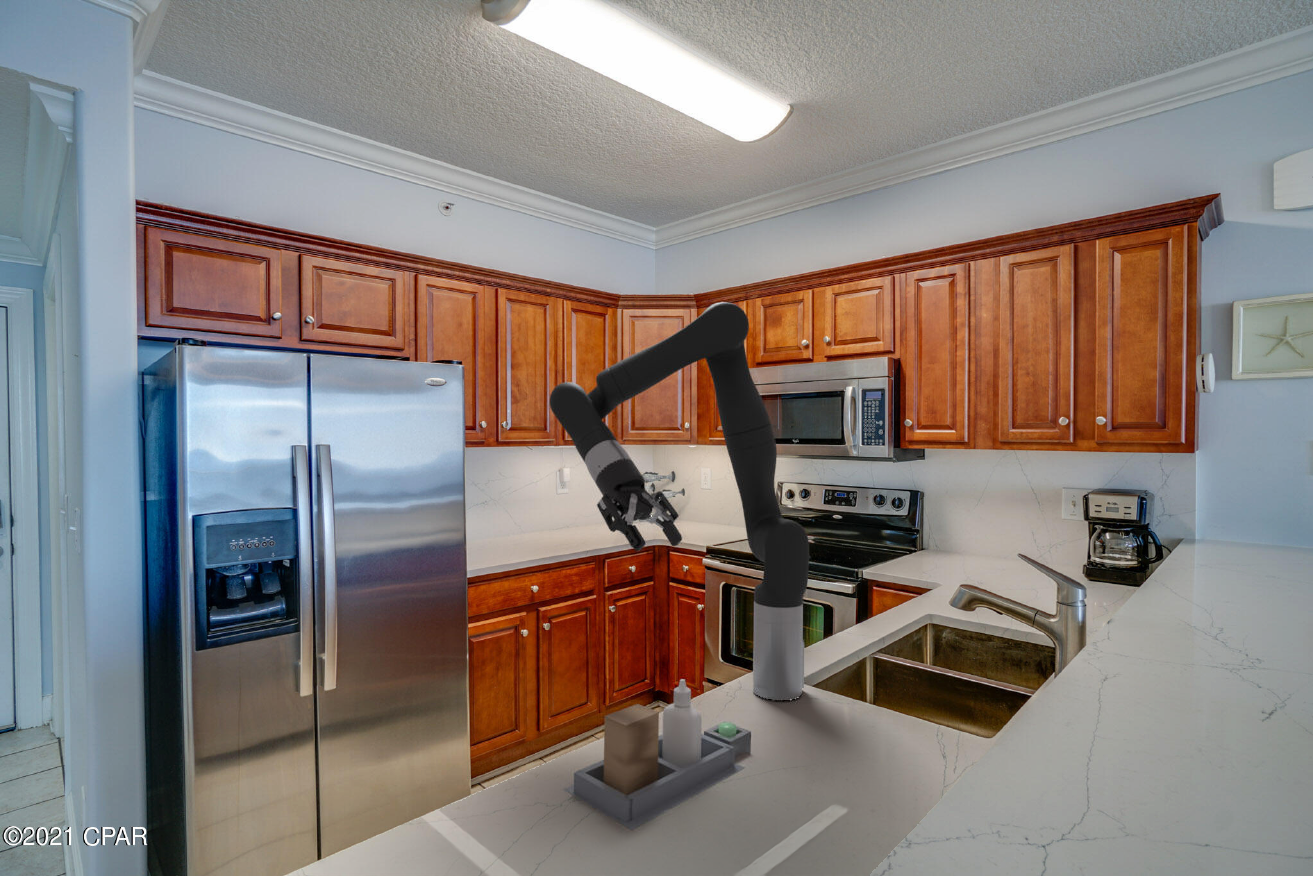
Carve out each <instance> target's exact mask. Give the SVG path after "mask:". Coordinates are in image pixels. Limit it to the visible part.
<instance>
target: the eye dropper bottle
mask: <svg viewBox="0 0 1313 876" xmlns="http://www.w3.org/2000/svg"><path fill="white" fill-rule="evenodd" d="M678 684H679V685H678V686H677V687H675V688H674V689H673V703H670V704H668V705H666V707H664V709H663V713H662V734H663V742H662V759H663V760H665V761H667V762H670V763H672V764H674V765H676V766H678V767H680V768H684V767H686V766H688V765H690V764H692V763H694V762H696V761H698V760H700V759H701V734H702V716H701V714H700V712H699V711H698V709H696V708H695V707H694V706H693V705H692V702H691V701H692V699H691V698H692V697H691V696H692V691H691V688H689V687H688V686H687V684H686V679H683V678H681V679H680V680H679V683H678Z"/></svg>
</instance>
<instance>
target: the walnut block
mask: <svg viewBox="0 0 1313 876" xmlns="http://www.w3.org/2000/svg"><path fill="white" fill-rule="evenodd" d="M659 715H660V712H659V711H657V710H654V709H651V708H649V707H647V706H644V705H641V704H639V703H636V704H634V705H632V706H631V705H630V706H628V707H625V708H623V709H620V710H618V711H614V712H612V713H609V714H607V715H605V716H604V723H603V724H604V725H603V726H604V727H603V728H604V730H603V731H604V732H603V734H604V735H603V736H604V738H603V739H604V740H603V743H604V745H603V760H604V783H605V784H606V785H608V786H610V787H612V788H614V789H615V790H617V791H619V792H621V793H623V794H624V795H626V796H628V795H630V794H632V793H634V792H636V791H638V790H640V789H642V788H644V787H646V786H648V785H650V784H652V783H654V782H656V781H658V736H660V735H659V728H660V727H659V726H660V725H659V723H660V719H659V717H660V716H659Z"/></svg>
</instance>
